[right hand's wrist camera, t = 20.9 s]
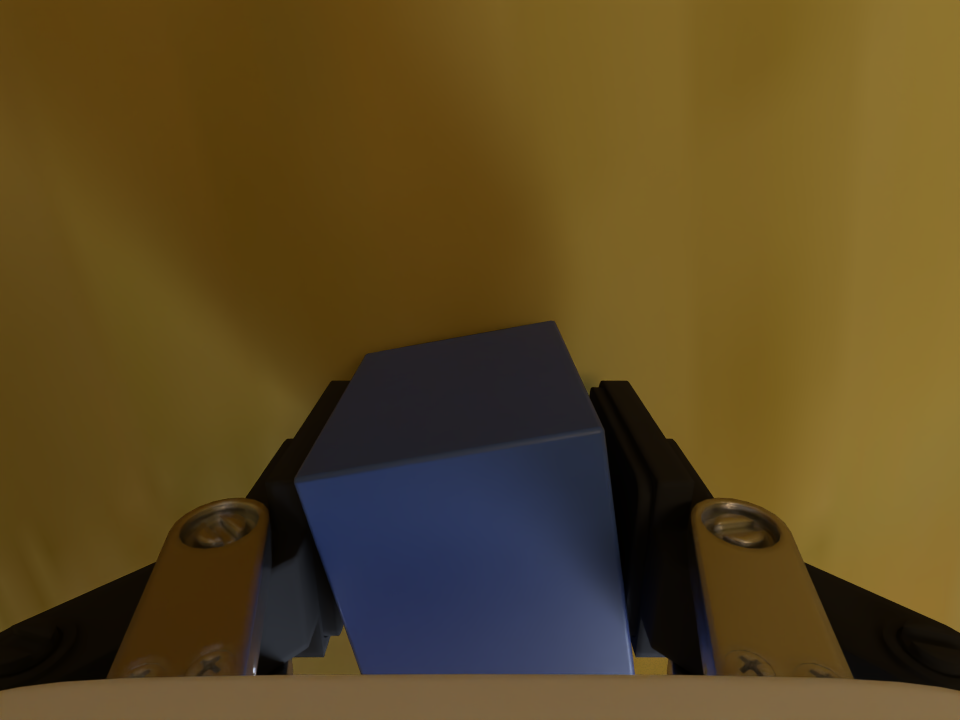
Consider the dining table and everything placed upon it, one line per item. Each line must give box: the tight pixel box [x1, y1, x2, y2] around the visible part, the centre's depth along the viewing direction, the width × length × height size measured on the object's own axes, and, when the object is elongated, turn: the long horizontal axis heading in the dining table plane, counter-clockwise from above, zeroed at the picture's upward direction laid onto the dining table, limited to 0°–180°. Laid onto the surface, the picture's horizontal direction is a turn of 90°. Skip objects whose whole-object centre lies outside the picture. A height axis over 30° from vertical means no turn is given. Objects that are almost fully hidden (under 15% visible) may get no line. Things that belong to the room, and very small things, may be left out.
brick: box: [294, 321, 635, 675], centre depth 10 cm, size 5×4×5 cm
